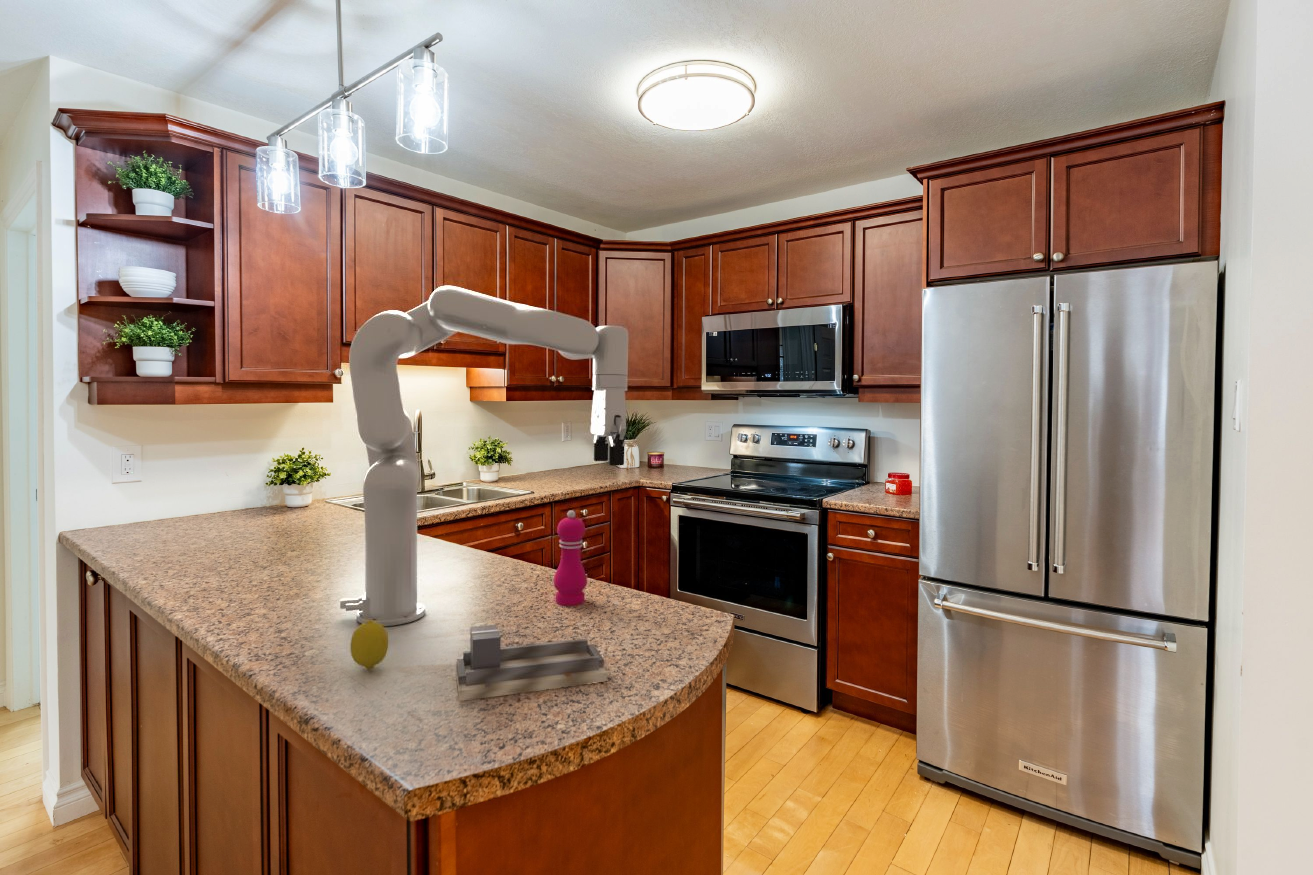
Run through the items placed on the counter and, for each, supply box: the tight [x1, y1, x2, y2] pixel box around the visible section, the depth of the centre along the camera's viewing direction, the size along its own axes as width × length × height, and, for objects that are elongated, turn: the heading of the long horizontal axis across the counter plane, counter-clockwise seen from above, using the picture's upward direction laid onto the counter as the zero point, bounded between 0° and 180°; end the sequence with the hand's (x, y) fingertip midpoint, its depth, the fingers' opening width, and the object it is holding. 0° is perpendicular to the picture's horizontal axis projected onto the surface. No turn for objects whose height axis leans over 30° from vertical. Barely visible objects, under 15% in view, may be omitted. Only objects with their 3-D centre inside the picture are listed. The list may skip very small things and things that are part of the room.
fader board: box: [455, 638, 608, 702], centre depth 101 cm, size 22×11×4 cm, turn 110°
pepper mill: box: [553, 509, 588, 607], centre depth 139 cm, size 7×7×20 cm
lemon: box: [349, 620, 389, 671], centre depth 102 cm, size 6×6×8 cm
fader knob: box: [469, 624, 501, 670], centre depth 99 cm, size 4×6×6 cm
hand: (608, 463), depth 139 cm, fingers open, 9 cm apart
